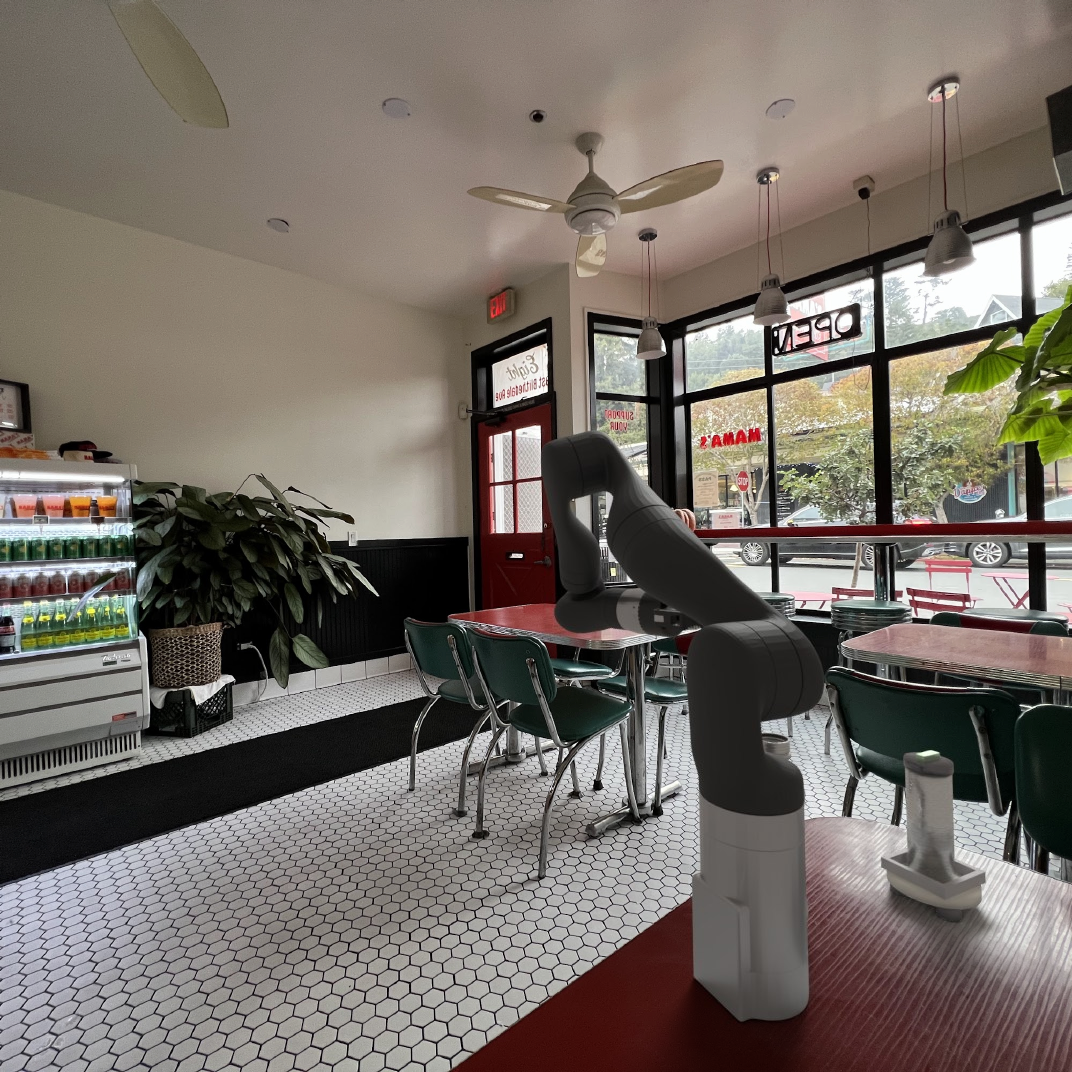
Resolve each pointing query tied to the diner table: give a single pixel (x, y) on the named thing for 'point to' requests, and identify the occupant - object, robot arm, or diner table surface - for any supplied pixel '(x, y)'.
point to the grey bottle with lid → (930, 815)
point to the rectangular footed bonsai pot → (936, 886)
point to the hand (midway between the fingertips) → (741, 619)
